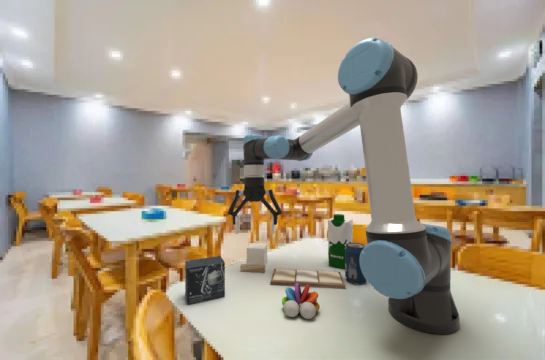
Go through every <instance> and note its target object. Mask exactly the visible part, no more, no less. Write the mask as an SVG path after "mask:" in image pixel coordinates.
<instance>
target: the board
mask: <svg viewBox="0 0 545 360" xmlns="http://www.w3.org/2000/svg"><path fill="white" fill-rule="evenodd" d="M269 283H270V286H285V287H295V284H296V283H299V284H300V288H301V287H303V288H305V286H306V285H307V284H308V285H309V286H310V288H319V289H320V288H321V289H322V288H325V289H326V288H327V289H340V290H341V289H342V290H344V289H345V290H346V284H345V281H344V278H343V276H342V274H341V271H337V270H335V271H333V270H313V269H312V270H309V269H287V268H274V269H273V272H272V274H271V278H270V282H269Z"/></svg>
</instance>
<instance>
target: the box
mask: <svg viewBox="0 0 545 360" xmlns="http://www.w3.org/2000/svg"><path fill="white" fill-rule="evenodd" d="M184 265H185V266H184V267H185V269H184V270H185V272H184V273H185V275H184V277H185V278H184V279H185V282H184V284H185V285H184V287H185V288H184V289H185V293H184V296H185V300H186V304H187V306H190V305H193V304H194V305H195V304H198V303H204V302H208V301H211V300H212V301H213V300H217V299H222V298H225V296H226V295H225V294H226V287H225V285H226V281H225V280H226V278H225V277H226V275H225V274H226V263H225V261H224V259H223V258H222V256H220V255H217V256H211V257H203V258H197V259H190V260H185V261H184Z"/></svg>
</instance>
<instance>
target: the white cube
mask: <svg viewBox="0 0 545 360" xmlns="http://www.w3.org/2000/svg"><path fill="white" fill-rule="evenodd" d="M267 262H268V243H258V242H257V243H255V242H253V243H252V242H251V243H249V245H248V246H247V247H246V264H249V265H265V266H266V264H267Z"/></svg>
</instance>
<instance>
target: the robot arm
mask: <svg viewBox="0 0 545 360" xmlns="http://www.w3.org/2000/svg"><path fill="white" fill-rule="evenodd" d="M337 72H338V73H337V81H338V85H339V87H340V88H341V90H342V91H343V92H344V93H346V94H347V95H348V97H349V101H348V102H347V103H345V104H344V105H342V106H340V108H339V109H337V110H336V111H334V112H333V113H332V114H330V115H328V116H327V117H325V118H324V119H323V120H321V121H320V122H318V123H316V125H314V126H313V127H311V128H310V129H308V130H306V132H304V133H302V134H301V135H299V136H298V137H297V138H294V139H292V138H291V139H290V138H286V137H285V136H284V135H281V134H280V135H271V136H269V137H264V135H261V134H258V133H257V134H256V133H255V134H254V133H252V134H246V135H244V136H243V144H242V146H243V147H242V149H243V176H244V179H243V180H244V181H243V187H244V188H243V190H241V189H236V190H235V195H234V197H233V200H232V201H231V202H232V203H231V205H230V206H229V209H228V211H227V215H230V216H232V224H233V226H235V229H234V230H235V235H239V233H240V215H238V214H239V213H240V212H241V210H242V209H243V208H244V207H245V205H246V204H247V203H248V202H249V203H253V202H255V203H259V202H261V203H262V204H263V205H264V207H265V208H267V210H268V211H269V212H270V213H271V214H272V215H271V218H270V219H271V235H274V234H275V232H276V231H275V230H276V229H275V228H276V227H275V226H277V224H278V216H280V215H282V213H283V211H282V209H281V207H280V205H279V203H278V201H277V199H276V198H275V196H274V195H275V194H274V190H273V189H271V188H270V189H267V190H266V188H265V177H264V176H265V163H264V162H265V161H266V160H281V161H282V160H285V161H298V162H303V161H308V160H310V159H311V157H312V156H313V153H314V152H316V151H317V150H319V149H321V148H322V147H325V146H326V145H328V144H330V143H331V142H333V141H335V140H336V139H338V138H340V137H342V136H343V135H346V134H347V133H348V132H350V131H352V130H354V129H355V128H357V127H359V126H360V127H359V128H360V136H361V143H362V152H363V153H362V154H363V161H364V169H365V176H366V177H365V178H366V185H367V193H368V201H369V210H370V218H371V220H370V223H369V224H368V225H367V226H366V227H365V238H366V244H364V245H365V247H364V248H363V250H362V251H361V254H360V260H359V261H360V268H361V271H362V273H363V275H364V277H365V279H366V282H367V283H368V284H369V285H371V287H373V289H374V290H375V291H376V292H378V293H379V294H382V295H383V296H385V297H386V298H388V300H387V301H388V302H387V310H388V312H389V314H390V315H391V316H392V317H393V318H394V319H395V320H396V321H398V322H400V323H401V324H403V325H404V326H407V327H408V328H411V329H413V330H416V331H420V332H423V333H428V334H431V335H449V334H454V333H455V332H458V330H459V329H460V314H459V311H458V308H457V306H456V303H455V300H454V296H453V294H452V291H451V279H452V277H451V274H452V273H451V271H452V270H451V267H452V266H451V265H452V258H451V257H452V243H453V242H452V241H453V240H452V236H451V235H452V234H451V231H450V230H449V228H447V227H445V226H441V225H434V224H428V223H427V224H426V223H421V222H420V221H419V220H417V218H416V212H415V205H414V204H415V203H414V197H413V189H412V182H411V175H410V168H409V167H410V166H409V161H408V160H409V159H408V155H407V146H406V138H405V132H404V124H403V116H402V109H401V108H402V106H403V105H405V103H406V101H407V100H408V99H409V98H410V97H411V96H412V94H413V93H414V91H415V90H416V86H417V84H418V78H419V77H418V75H419V73H418V71H417V67H416V65H415V63H414V62H413V61H412V60H411V59H410V58H408V57H406V56H405V55H403V53H401V52H400V51H398V50H397V49H396V48H394V46H393V45H392V44H391V43H390V42H389V41H386V40H384V39H381V38H378V37H369V38H366V39H365V38H364V39H362V40H360V41H359V42H357V43H356V44H355V45H353V46H352V47H351V48H350V49H349V50H348V51H347V52H346V53H345V57H344V58H343V59H342V60H341V62H340V65H339V67H338V71H337ZM266 194H267V196H268V197H269V198H270V200H271V202H272V204H273V206H272V205H271V204H270V203H269V202H268V200H267V199H266V198H265V195H266ZM242 195H243V196H244V199H243V200H242V201H241V203H240V204H239V205H238V206H237V204H238V202H239V200H240V198H241V196H242ZM236 206H237V208H236ZM273 207H274V208H273Z"/></svg>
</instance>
